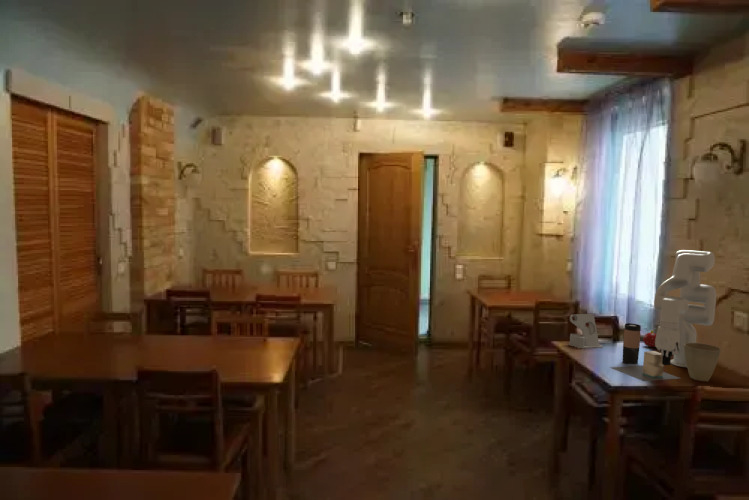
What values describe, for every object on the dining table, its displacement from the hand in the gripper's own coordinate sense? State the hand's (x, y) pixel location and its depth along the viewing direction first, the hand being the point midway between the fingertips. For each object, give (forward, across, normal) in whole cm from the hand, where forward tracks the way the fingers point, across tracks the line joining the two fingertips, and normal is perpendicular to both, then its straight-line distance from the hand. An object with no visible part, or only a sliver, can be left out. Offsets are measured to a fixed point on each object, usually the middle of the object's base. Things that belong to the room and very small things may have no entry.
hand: (666, 364), depth 258 cm
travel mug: (+8, -30, +8) cm, 32 cm away
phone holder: (+8, -66, +9) cm, 67 cm away
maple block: (+7, -7, 0) cm, 10 cm away
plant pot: (+8, +1, +20) cm, 22 cm away
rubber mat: (+8, -12, 0) cm, 15 cm away
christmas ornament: (+8, -57, +48) cm, 75 cm away
